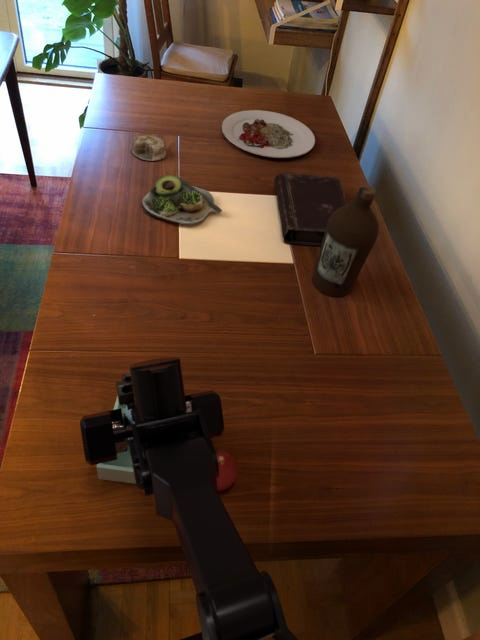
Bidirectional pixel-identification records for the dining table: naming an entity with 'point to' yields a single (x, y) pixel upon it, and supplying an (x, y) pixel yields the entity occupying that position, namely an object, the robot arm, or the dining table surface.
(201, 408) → the robot arm
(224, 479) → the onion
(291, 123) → the plated food
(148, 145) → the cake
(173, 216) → the avocado toast plate
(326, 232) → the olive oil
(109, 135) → the dining table surface
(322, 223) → the diary
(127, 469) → the shallow open tray
